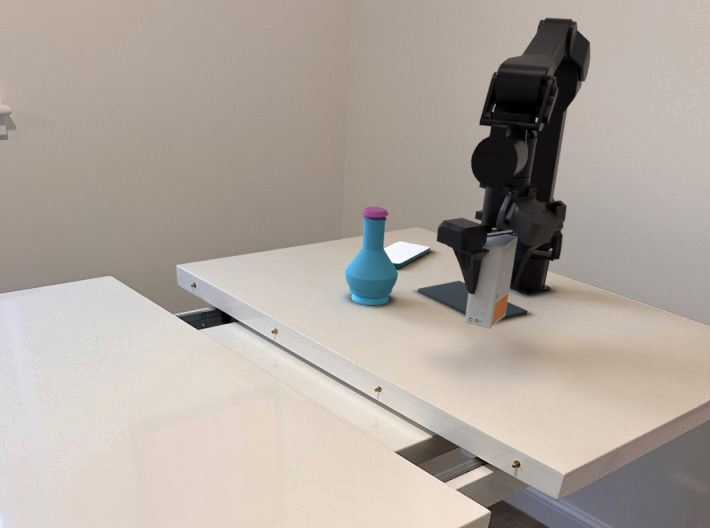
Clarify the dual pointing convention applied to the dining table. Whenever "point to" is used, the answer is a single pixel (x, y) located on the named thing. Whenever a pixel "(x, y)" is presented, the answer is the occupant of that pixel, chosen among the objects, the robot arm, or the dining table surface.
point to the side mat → (461, 298)
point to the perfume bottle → (372, 263)
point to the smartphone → (405, 252)
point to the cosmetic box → (492, 282)
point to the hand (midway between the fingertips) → (491, 289)
